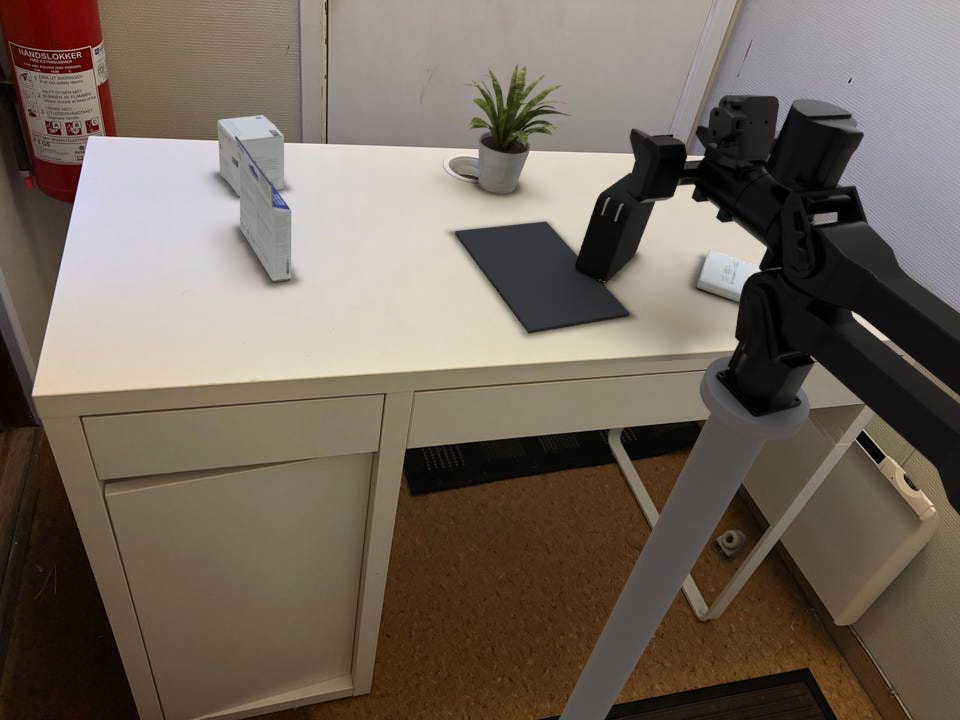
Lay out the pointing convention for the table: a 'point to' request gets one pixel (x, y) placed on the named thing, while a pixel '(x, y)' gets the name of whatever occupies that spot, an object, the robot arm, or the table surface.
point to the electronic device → (613, 231)
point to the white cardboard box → (251, 148)
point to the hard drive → (725, 275)
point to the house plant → (508, 131)
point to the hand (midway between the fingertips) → (665, 130)
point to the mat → (539, 276)
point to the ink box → (264, 217)
